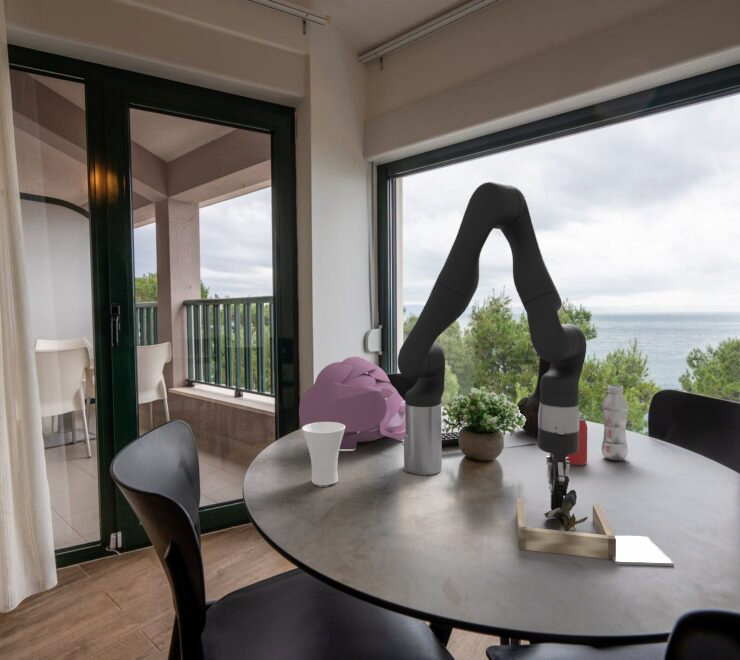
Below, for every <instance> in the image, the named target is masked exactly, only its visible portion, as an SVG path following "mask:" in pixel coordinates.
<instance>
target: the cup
mask: <svg viewBox="0 0 740 660" xmlns="http://www.w3.org/2000/svg"><path fill="white" fill-rule="evenodd" d="M344 430H345V425H343V424H341V423H336V422H317V423H311V424H307V425H305V426H302V427H301V431H302V433H303V436H304V440H305V443H306V446H307V448H308V451H309V456H310V462H311V480H312V482H313V483H315V484H319V485H328V484H333V483H336V482H337V481H338V482H339V477H338V476H339V475H338V462H339V461H338V458H339V453H340V451H339V448H340V445H341V441H342V437H343V434H344ZM336 484H337V483H336Z"/></svg>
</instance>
